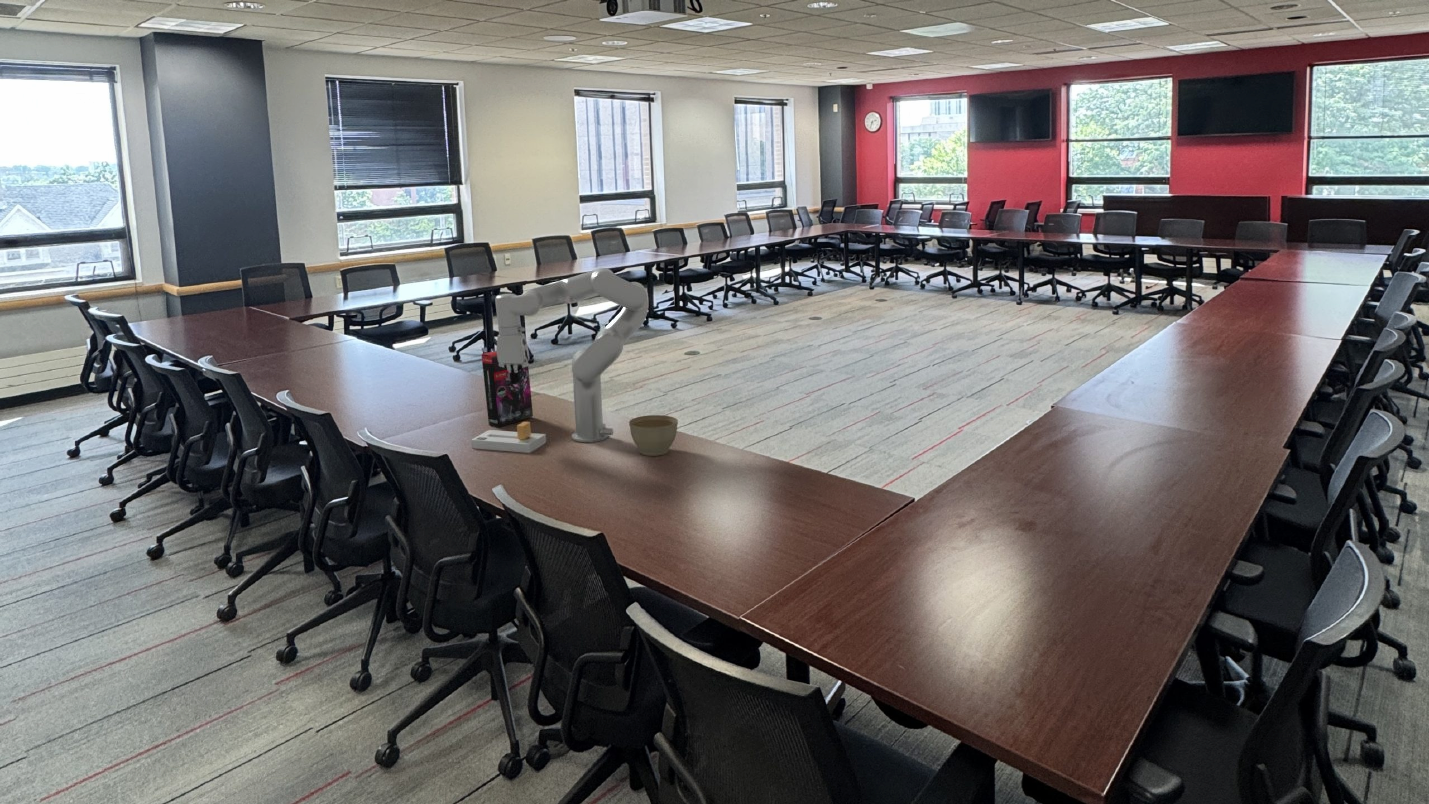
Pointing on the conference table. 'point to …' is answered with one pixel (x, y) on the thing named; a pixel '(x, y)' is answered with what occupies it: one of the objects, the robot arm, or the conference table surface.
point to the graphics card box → (505, 393)
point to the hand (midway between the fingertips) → (515, 383)
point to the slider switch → (507, 441)
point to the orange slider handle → (524, 430)
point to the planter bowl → (653, 433)
